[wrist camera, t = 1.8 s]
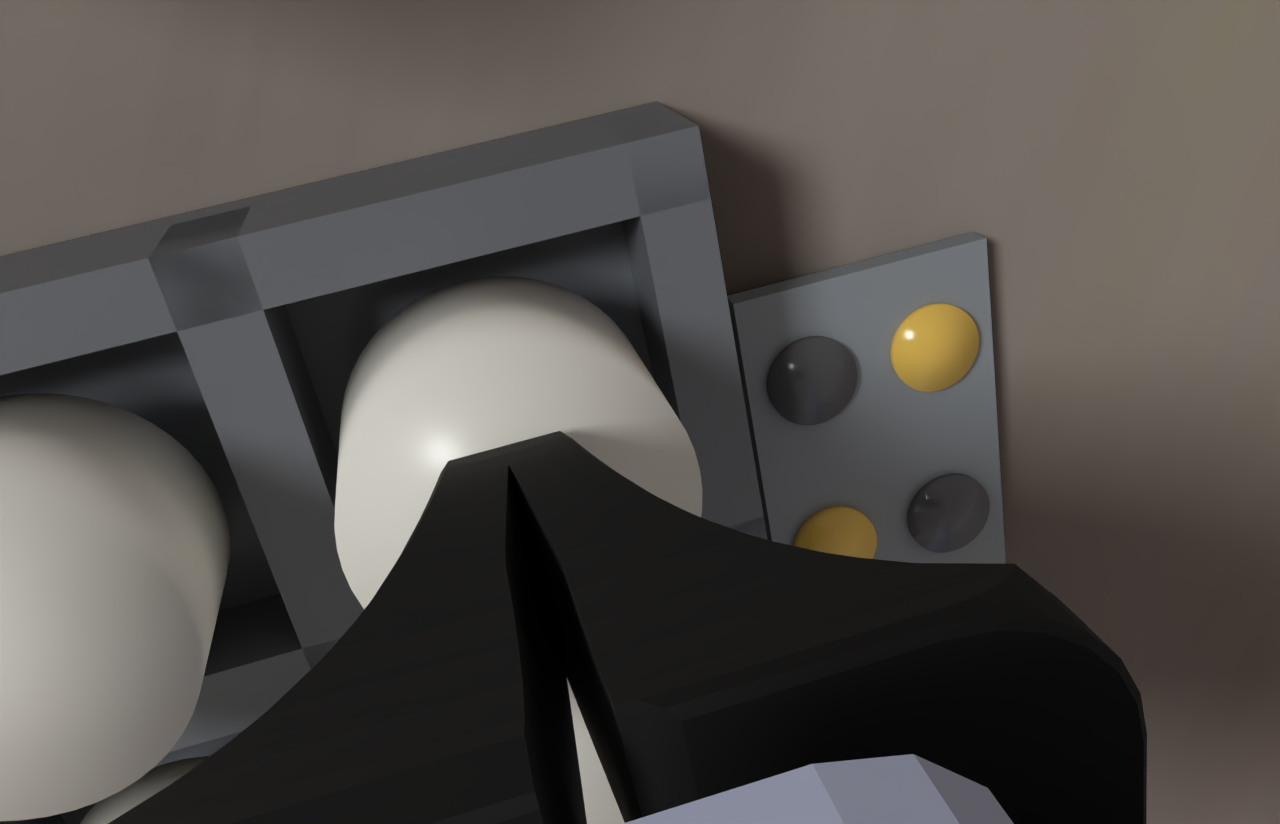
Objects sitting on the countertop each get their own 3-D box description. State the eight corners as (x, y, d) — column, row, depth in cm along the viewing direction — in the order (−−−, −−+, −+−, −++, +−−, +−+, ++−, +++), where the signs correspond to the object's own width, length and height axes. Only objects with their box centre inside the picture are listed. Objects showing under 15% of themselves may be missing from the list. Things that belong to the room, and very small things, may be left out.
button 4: (273, 628, 15) (254, 757, 13) (-36, 715, 14) (-115, 866, 12) (163, 355, 13) (118, 445, 11) (-191, 444, 13) (-318, 558, 10)
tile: (994, 558, 20) (1010, 573, 19) (779, 622, 19) (790, 640, 19) (973, 232, 17) (991, 239, 17) (725, 296, 17) (735, 307, 16)
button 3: (674, 515, 16) (727, 617, 13) (391, 594, 15) (395, 716, 13) (618, 241, 14) (668, 303, 12) (297, 321, 13) (281, 402, 11)
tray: (776, 763, 20) (819, 851, 18) (107, 973, 19) (77, 1093, 17) (656, 101, 15) (698, 125, 13) (-267, 320, 14) (-374, 382, 12)
